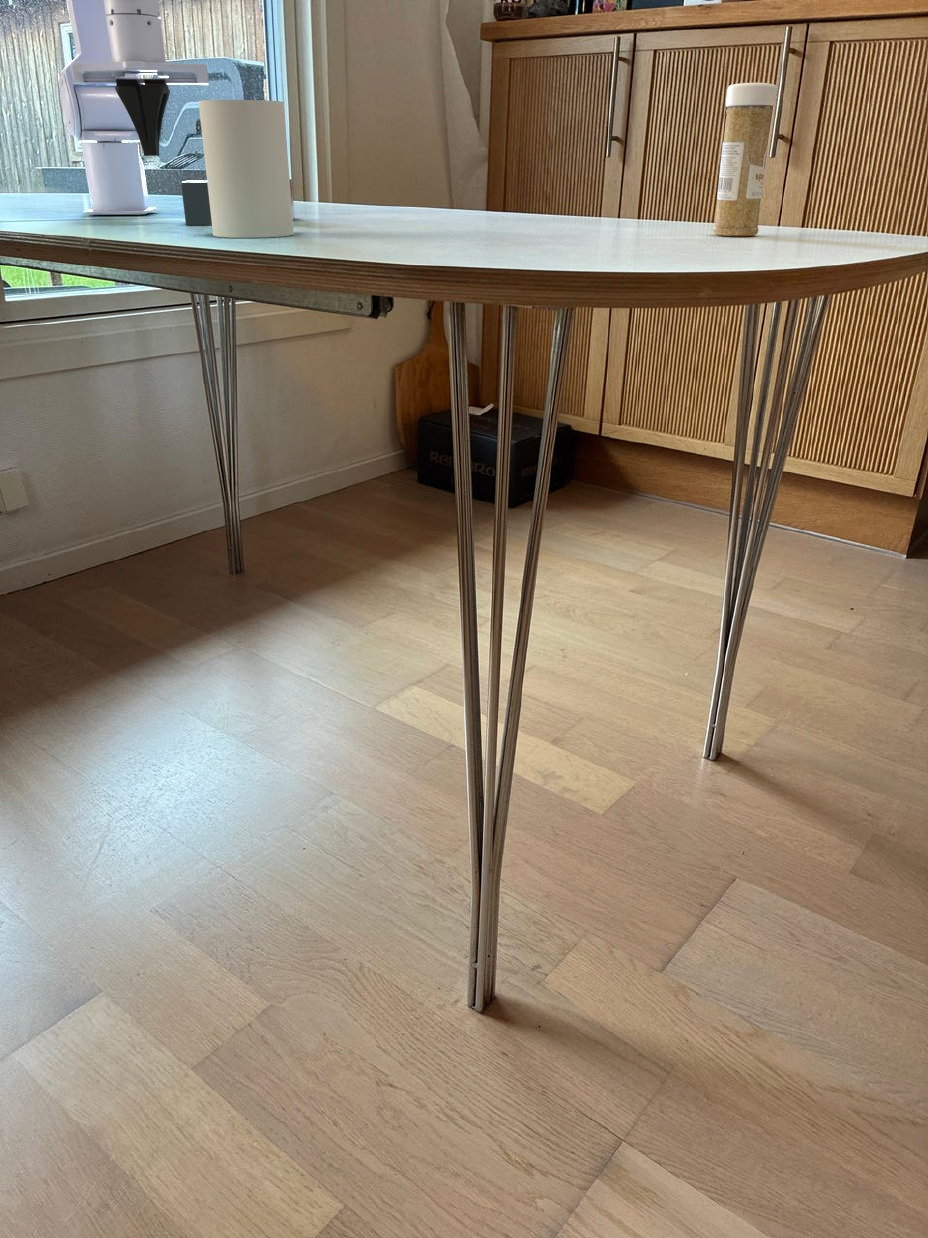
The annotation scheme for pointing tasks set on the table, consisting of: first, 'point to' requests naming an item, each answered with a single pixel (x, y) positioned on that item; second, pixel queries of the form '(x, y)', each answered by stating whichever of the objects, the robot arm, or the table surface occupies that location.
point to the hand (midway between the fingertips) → (151, 155)
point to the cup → (247, 168)
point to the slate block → (196, 202)
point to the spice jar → (743, 158)
